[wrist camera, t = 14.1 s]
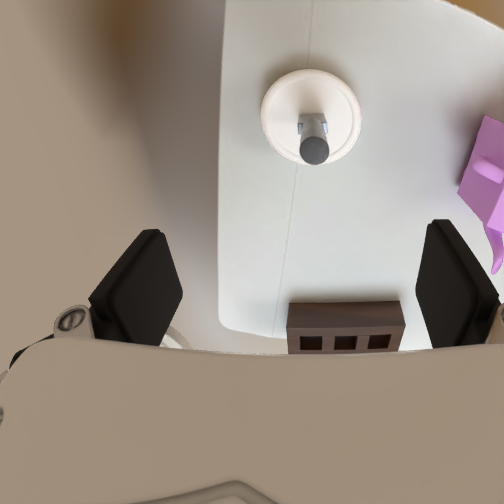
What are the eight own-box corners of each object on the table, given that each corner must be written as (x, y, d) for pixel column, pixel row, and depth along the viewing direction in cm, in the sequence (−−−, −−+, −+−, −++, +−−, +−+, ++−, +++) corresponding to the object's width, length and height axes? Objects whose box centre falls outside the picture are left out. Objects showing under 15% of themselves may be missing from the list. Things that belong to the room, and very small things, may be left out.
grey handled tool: (324, 126, 27) (335, 164, 18) (300, 128, 28) (295, 165, 18) (323, 109, 26) (333, 135, 17) (298, 110, 27) (293, 137, 17)
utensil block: (392, 330, 46) (396, 354, 42) (291, 333, 49) (288, 357, 45) (399, 300, 42) (405, 325, 38) (289, 302, 45) (286, 327, 41)
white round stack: (349, 64, 26) (354, 64, 23) (362, 152, 31) (367, 161, 28) (254, 77, 29) (249, 79, 26) (274, 162, 34) (270, 173, 31)
